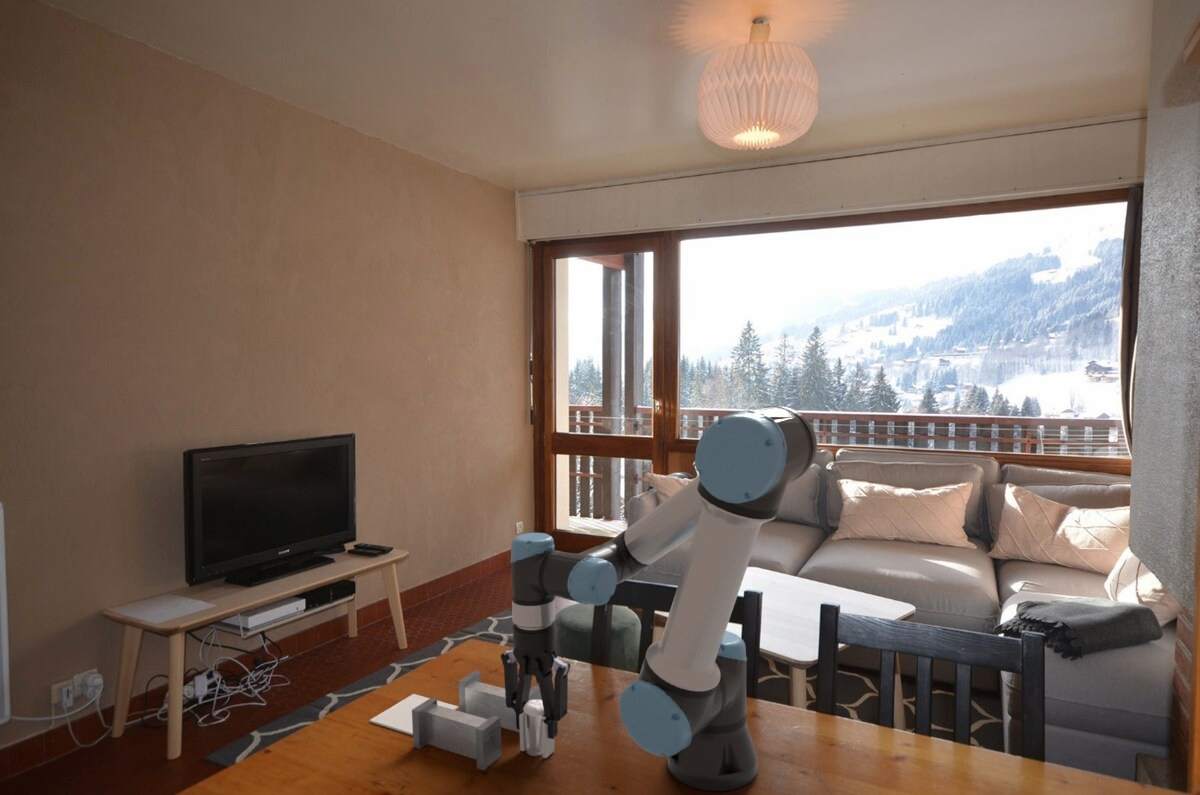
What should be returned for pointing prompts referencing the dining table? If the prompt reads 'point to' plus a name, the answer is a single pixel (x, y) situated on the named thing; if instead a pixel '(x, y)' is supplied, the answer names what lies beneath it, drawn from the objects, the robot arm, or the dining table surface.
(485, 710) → the brackets
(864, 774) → the dining table surface
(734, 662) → the robot arm
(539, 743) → the milkshake
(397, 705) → the pad
